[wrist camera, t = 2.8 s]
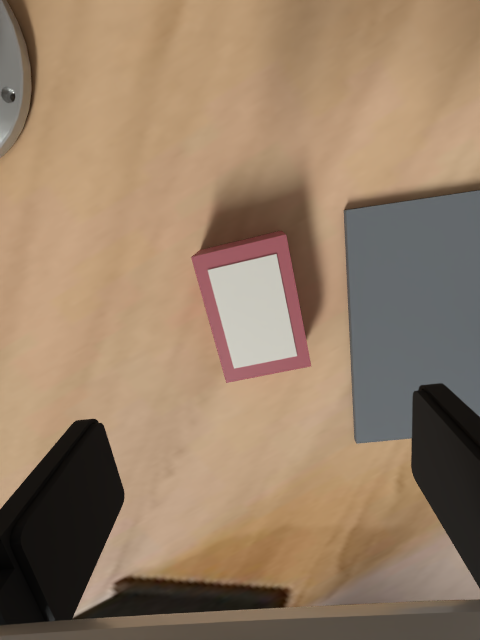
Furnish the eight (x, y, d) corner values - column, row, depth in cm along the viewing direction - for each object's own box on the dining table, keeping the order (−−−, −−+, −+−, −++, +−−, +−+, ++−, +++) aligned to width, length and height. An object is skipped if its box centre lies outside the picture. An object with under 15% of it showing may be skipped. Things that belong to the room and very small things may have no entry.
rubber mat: (343, 210, 23) (346, 210, 23) (518, 184, 22) (525, 183, 22) (354, 438, 29) (356, 443, 29) (493, 425, 28) (498, 430, 28)
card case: (200, 249, 25) (191, 257, 21) (280, 230, 24) (286, 234, 20) (230, 358, 28) (226, 383, 24) (302, 343, 27) (311, 366, 23)
